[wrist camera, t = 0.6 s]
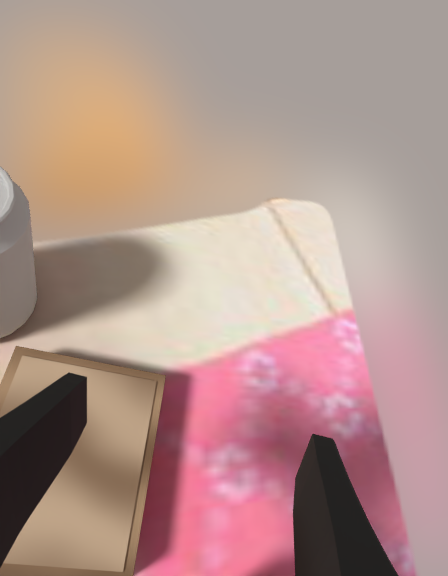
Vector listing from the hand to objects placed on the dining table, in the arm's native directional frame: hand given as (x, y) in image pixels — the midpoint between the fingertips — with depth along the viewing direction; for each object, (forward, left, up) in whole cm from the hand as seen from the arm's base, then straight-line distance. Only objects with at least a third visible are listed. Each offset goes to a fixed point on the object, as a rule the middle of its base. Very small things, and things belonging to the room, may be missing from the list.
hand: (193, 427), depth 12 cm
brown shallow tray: (+1, +4, -17) cm, 18 cm away
